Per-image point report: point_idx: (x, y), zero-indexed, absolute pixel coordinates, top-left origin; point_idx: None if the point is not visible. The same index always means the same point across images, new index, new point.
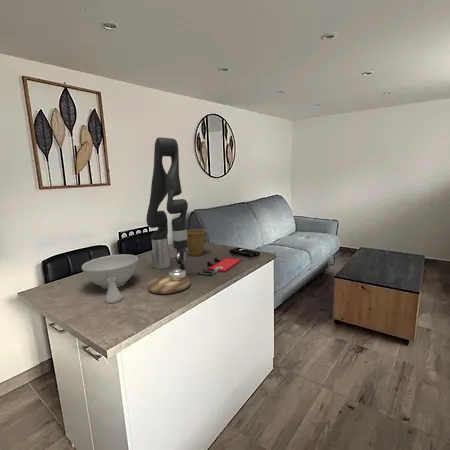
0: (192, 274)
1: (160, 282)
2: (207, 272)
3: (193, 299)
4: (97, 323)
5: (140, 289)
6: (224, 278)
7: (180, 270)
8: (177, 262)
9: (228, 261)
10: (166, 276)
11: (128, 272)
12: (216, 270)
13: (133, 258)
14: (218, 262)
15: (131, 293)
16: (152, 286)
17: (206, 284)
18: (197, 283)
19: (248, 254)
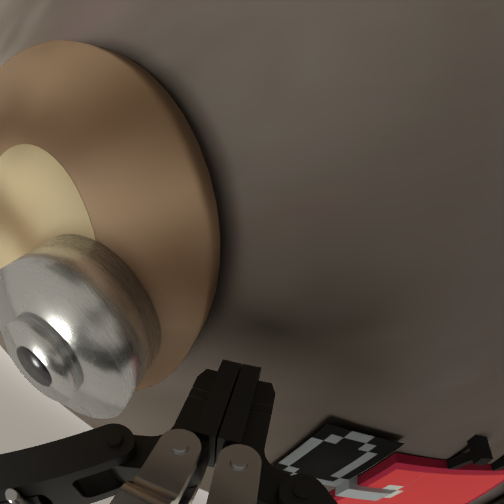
0: (342, 385)
1: (8, 166)
2: (326, 462)
3: (7, 351)
4: None
5: (37, 15)
6: None
7: (40, 390)
8: (60, 441)
9: (460, 493)
10: (135, 166)
11: None
12: (337, 489)
13: None
14: (475, 472)
15: (6, 8)
16: None
17: (139, 429)
18: (143, 400)
19: (499, 500)
